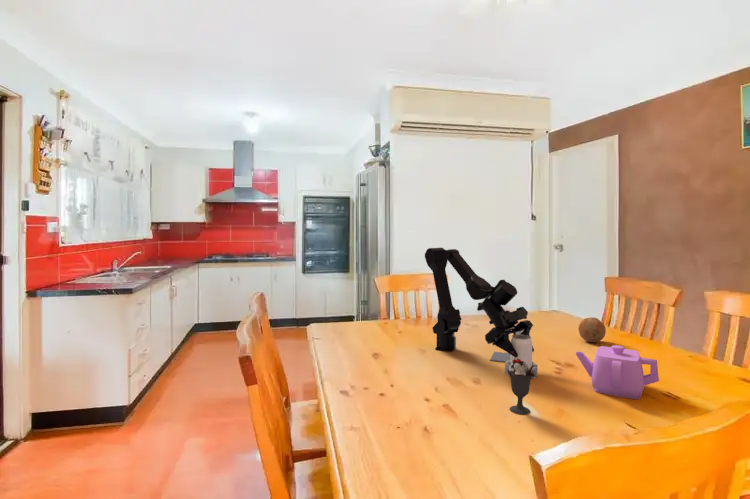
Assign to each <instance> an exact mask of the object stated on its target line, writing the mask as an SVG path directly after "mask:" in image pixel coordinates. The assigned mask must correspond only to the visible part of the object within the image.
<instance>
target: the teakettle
mask: <svg viewBox="0 0 750 499" xmlns="http://www.w3.org/2000/svg"><path fill="white" fill-rule="evenodd" d="M575 355H576V357H577V358H578V360H579V361H580V363H581V364H582V366H583V367H584V369H585V371H586V372H587V374H588V376H589V377H590V378H591V383H592V387H593V390H594V392H595V393H598V392H599V394H603V393H604V395H609V396H614V397H620V398H624V397H625V399H631V400H640V398H641V397H642V394H643V392H644V388H645V386H648V385H650V384H651V385H652V384H654V383H658V382H660V378H659V377H660V376H659V368H658V367H659V366H658V359H652V358H647V357H641V355H640V352H639V351H637V350H633V349H628V348H625V347H624V346H623V345H616V344H615V345H611V346H603V345H602V346H599V347H598V348H597V350H596V352H595V356H594V359H593V362H592V361H591V360H590V359H589V358H588V356H587V355H585V353H584V352H583V351H575ZM643 365H647V366H650V369H649V370H650V371H649V372H650V373H648V374H644V368H643Z"/></svg>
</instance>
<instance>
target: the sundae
mask: <svg viewBox="0 0 750 499" xmlns="http://www.w3.org/2000/svg"><path fill="white" fill-rule="evenodd" d="M511 353H512V354H513V353H514V352H511ZM514 354H515V353H514ZM515 355H516V354H515ZM515 355H514V356H515ZM516 357H517V356H516ZM512 362H513V364H511V365H510V367H509V369H508V370H507V372H508V374H509V375H510V376H509V378H510V387H511V392H512V393H513V395H515V396H516V397H517V401H516V402H517V403H516V404H515V405H512V406H510V407H509V410H510V412H512V413H513V412H514V414H515V415H521V414H522V415H523V416H524V414H525V415H529V414H530V413H531V409H529V408H528V407H526V406H524V404H523V399H524V398H525V397H527V395H529V391H530V388H531V387H530V386H531V380H532V379H531V377H533V376H534V371H532V368H533V366H532V367H531V368H530V369H528V365H527V364H526V363H525V362H523V361H521V360H520V359H518V357H517V360H515V359H514V360H512ZM528 413H529V414H528Z"/></svg>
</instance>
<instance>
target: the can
mask: <svg viewBox="0 0 750 499" xmlns="http://www.w3.org/2000/svg"><path fill="white" fill-rule="evenodd" d="M531 338H532V336H528V335H523V334H515V335H514V334H512V336H511V340H510V342H511V344H512V345H513V347H514V349H515V350H516V352H517V354H518V356H517V357H518V359H520V360H521V361H523V362H525V363H526V364H527V365H528V368H531V367H532V362H533V352H532V345H533V341H532V339H531ZM517 357H514V356H512V355H511V364H513V362H512V360H514V359H515V360H517Z"/></svg>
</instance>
